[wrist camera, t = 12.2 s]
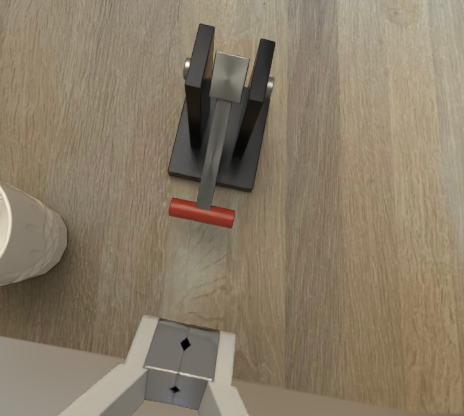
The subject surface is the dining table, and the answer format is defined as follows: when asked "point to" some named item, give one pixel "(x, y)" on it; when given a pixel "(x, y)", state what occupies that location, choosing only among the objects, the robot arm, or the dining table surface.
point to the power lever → (216, 141)
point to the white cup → (28, 236)
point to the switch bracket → (239, 125)
